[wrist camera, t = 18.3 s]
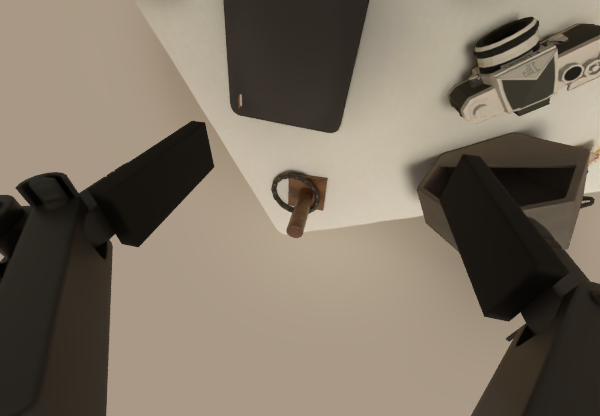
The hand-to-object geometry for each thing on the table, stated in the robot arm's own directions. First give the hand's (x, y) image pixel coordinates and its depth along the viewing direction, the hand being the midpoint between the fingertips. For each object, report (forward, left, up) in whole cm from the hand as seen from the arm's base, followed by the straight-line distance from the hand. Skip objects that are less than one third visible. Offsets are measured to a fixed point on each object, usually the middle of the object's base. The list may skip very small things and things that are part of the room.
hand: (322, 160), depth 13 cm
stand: (+25, -5, -32) cm, 41 cm away
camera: (-2, +21, -32) cm, 38 cm away
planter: (+14, +24, -32) cm, 42 cm away
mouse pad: (-1, -9, -32) cm, 33 cm away
